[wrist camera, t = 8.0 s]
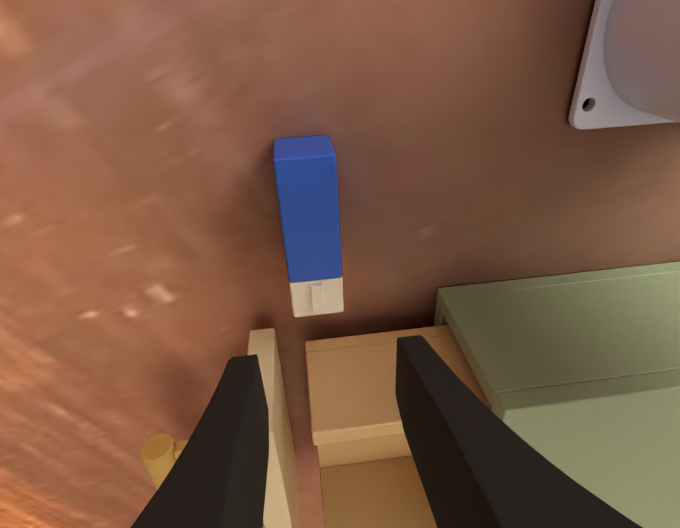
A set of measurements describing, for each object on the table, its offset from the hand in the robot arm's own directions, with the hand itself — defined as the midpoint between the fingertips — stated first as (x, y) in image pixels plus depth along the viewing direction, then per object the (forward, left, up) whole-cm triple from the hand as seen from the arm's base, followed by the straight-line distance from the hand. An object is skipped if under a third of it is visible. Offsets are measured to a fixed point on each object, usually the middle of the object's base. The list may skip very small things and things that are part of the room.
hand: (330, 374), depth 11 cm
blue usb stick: (0, 0, -9) cm, 9 cm away
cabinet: (+11, +13, -9) cm, 19 cm away
